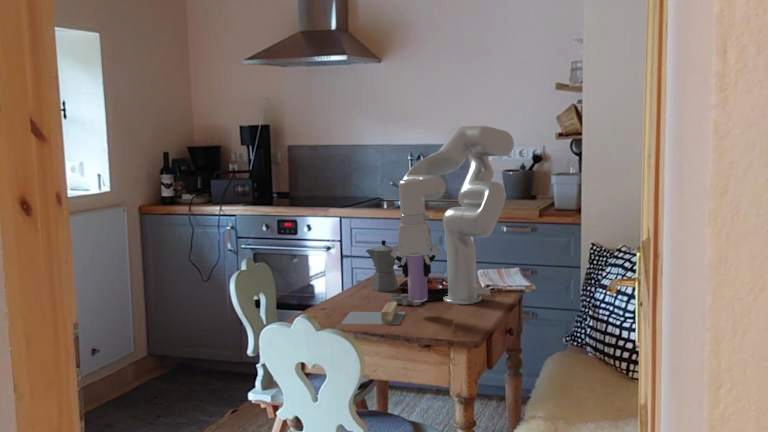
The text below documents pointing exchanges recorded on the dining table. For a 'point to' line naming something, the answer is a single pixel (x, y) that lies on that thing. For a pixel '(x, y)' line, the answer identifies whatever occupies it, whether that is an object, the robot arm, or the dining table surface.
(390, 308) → the block
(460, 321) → the dining table surface
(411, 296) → the beverage can
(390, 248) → the coffeepot
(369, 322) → the mat
